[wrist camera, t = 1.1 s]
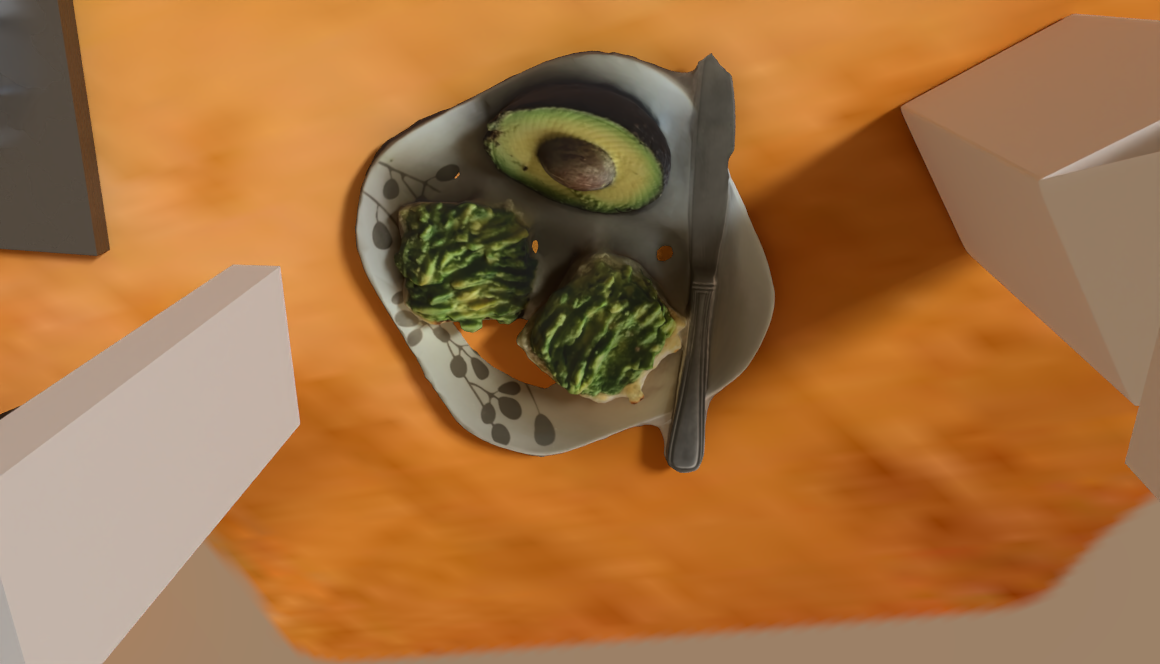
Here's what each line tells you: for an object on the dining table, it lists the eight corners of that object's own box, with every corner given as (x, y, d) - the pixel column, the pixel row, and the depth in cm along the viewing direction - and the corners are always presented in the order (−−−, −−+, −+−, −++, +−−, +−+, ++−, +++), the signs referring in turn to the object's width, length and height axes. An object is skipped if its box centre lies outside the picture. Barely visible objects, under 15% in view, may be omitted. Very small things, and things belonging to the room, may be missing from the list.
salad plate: (853, 396, 42) (874, 443, 38) (510, 516, 46) (494, 571, 42) (696, -12, 36) (699, -12, 32) (320, 166, 40) (279, 188, 36)
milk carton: (965, 253, 39) (1214, 482, 21) (897, 105, 37) (1107, 220, 19) (1135, 171, 37) (1563, 347, 19) (1072, 11, 35) (1482, 43, 17)
